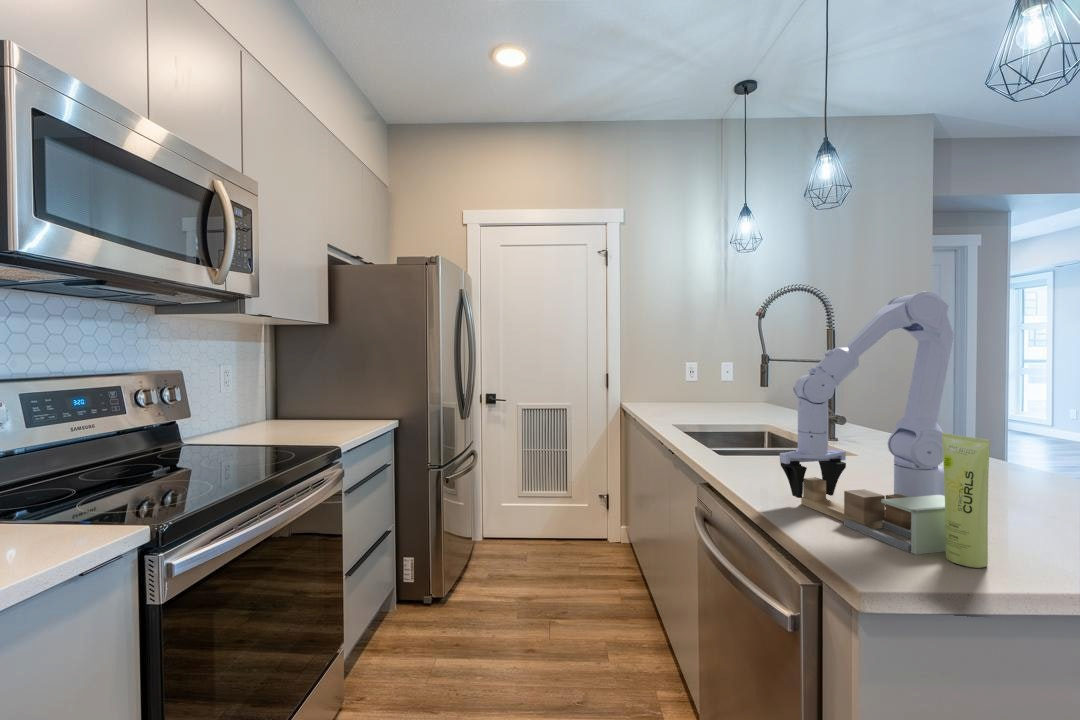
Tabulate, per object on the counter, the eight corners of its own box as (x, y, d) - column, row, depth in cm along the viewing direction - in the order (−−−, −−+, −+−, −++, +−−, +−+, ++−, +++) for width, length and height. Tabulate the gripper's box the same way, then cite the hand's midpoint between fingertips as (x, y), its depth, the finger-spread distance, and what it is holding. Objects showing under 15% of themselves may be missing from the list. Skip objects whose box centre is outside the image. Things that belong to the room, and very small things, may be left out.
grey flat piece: (899, 519, 97) (900, 511, 97) (970, 545, 85) (970, 535, 84) (844, 525, 95) (844, 516, 95) (907, 551, 82) (908, 542, 82)
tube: (940, 562, 78) (940, 435, 78) (941, 552, 82) (941, 431, 81) (989, 572, 74) (990, 439, 74) (988, 561, 78) (988, 435, 78)
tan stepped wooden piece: (817, 502, 108) (817, 477, 108) (882, 528, 93) (882, 498, 93) (801, 503, 108) (801, 478, 108) (863, 529, 92) (864, 499, 92)
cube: (864, 512, 97) (864, 489, 97) (884, 520, 93) (884, 495, 92) (844, 514, 96) (844, 490, 96) (863, 522, 92) (864, 497, 92)
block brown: (878, 514, 100) (878, 486, 100) (918, 529, 92) (918, 499, 92) (861, 516, 100) (861, 488, 99) (900, 530, 91) (900, 500, 91)
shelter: (939, 533, 90) (939, 494, 90) (977, 547, 83) (977, 505, 83) (881, 539, 87) (881, 499, 87) (915, 554, 81) (916, 510, 81)
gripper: (827, 427, 112) (827, 488, 112) (770, 429, 109) (770, 492, 109) (853, 432, 105) (853, 497, 106) (792, 435, 102) (792, 501, 103)
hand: (812, 495), depth 107 cm, fingers open, 7 cm apart
